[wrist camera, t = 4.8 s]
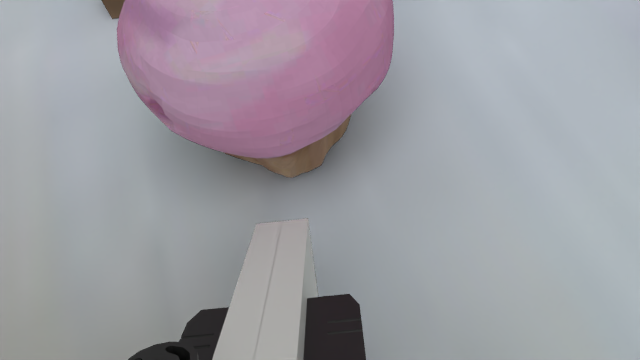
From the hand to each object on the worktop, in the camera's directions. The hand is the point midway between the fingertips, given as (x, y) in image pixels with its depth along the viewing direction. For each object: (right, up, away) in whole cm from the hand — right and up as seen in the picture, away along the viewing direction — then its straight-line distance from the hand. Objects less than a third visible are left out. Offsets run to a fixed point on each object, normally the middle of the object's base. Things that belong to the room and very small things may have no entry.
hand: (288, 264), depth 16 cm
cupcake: (0, +4, +8) cm, 9 cm away
